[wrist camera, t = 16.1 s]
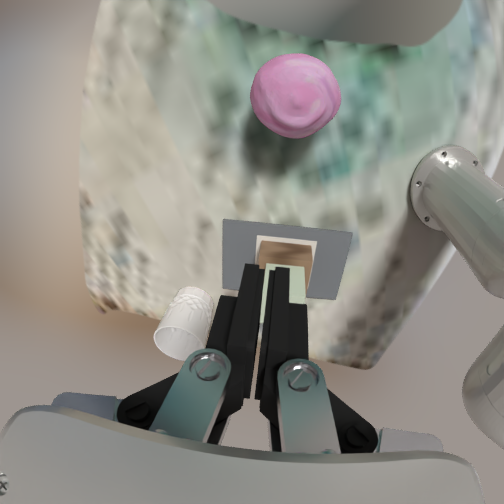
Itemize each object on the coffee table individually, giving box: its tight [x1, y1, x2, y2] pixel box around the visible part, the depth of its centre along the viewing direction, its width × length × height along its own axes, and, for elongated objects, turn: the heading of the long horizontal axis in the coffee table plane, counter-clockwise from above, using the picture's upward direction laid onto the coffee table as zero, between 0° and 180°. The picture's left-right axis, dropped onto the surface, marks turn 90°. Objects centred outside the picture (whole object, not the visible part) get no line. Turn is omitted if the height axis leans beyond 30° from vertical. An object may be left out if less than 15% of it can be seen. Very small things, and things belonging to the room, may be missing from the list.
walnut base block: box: [258, 240, 313, 298], centre depth 44 cm, size 7×7×4 cm
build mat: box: [223, 219, 353, 300], centre depth 46 cm, size 18×12×1 cm, turn 87°
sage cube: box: [260, 263, 306, 323], centre depth 40 cm, size 5×5×6 cm
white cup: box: [154, 286, 214, 361], centre depth 48 cm, size 8×8×10 cm
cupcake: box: [250, 54, 341, 138], centre depth 29 cm, size 9×9×10 cm
